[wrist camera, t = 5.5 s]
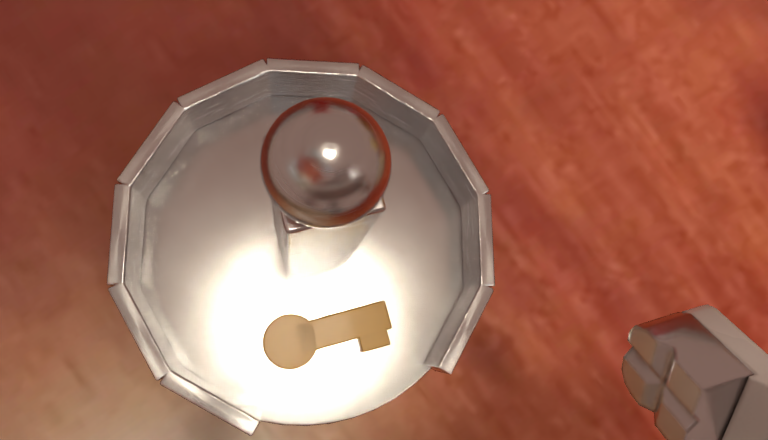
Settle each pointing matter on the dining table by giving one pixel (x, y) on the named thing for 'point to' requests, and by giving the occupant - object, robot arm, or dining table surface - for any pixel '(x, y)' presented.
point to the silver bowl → (298, 240)
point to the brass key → (325, 334)
